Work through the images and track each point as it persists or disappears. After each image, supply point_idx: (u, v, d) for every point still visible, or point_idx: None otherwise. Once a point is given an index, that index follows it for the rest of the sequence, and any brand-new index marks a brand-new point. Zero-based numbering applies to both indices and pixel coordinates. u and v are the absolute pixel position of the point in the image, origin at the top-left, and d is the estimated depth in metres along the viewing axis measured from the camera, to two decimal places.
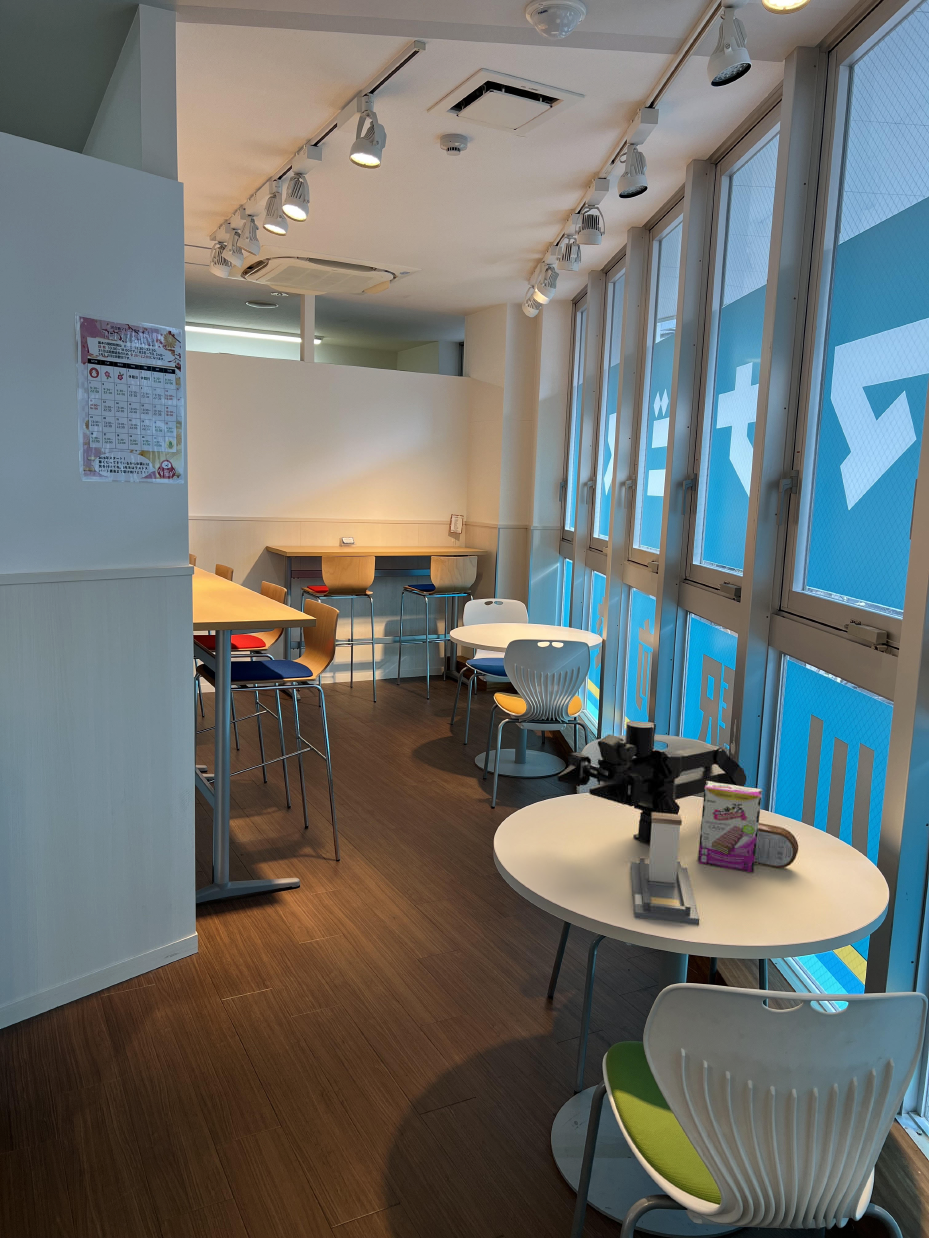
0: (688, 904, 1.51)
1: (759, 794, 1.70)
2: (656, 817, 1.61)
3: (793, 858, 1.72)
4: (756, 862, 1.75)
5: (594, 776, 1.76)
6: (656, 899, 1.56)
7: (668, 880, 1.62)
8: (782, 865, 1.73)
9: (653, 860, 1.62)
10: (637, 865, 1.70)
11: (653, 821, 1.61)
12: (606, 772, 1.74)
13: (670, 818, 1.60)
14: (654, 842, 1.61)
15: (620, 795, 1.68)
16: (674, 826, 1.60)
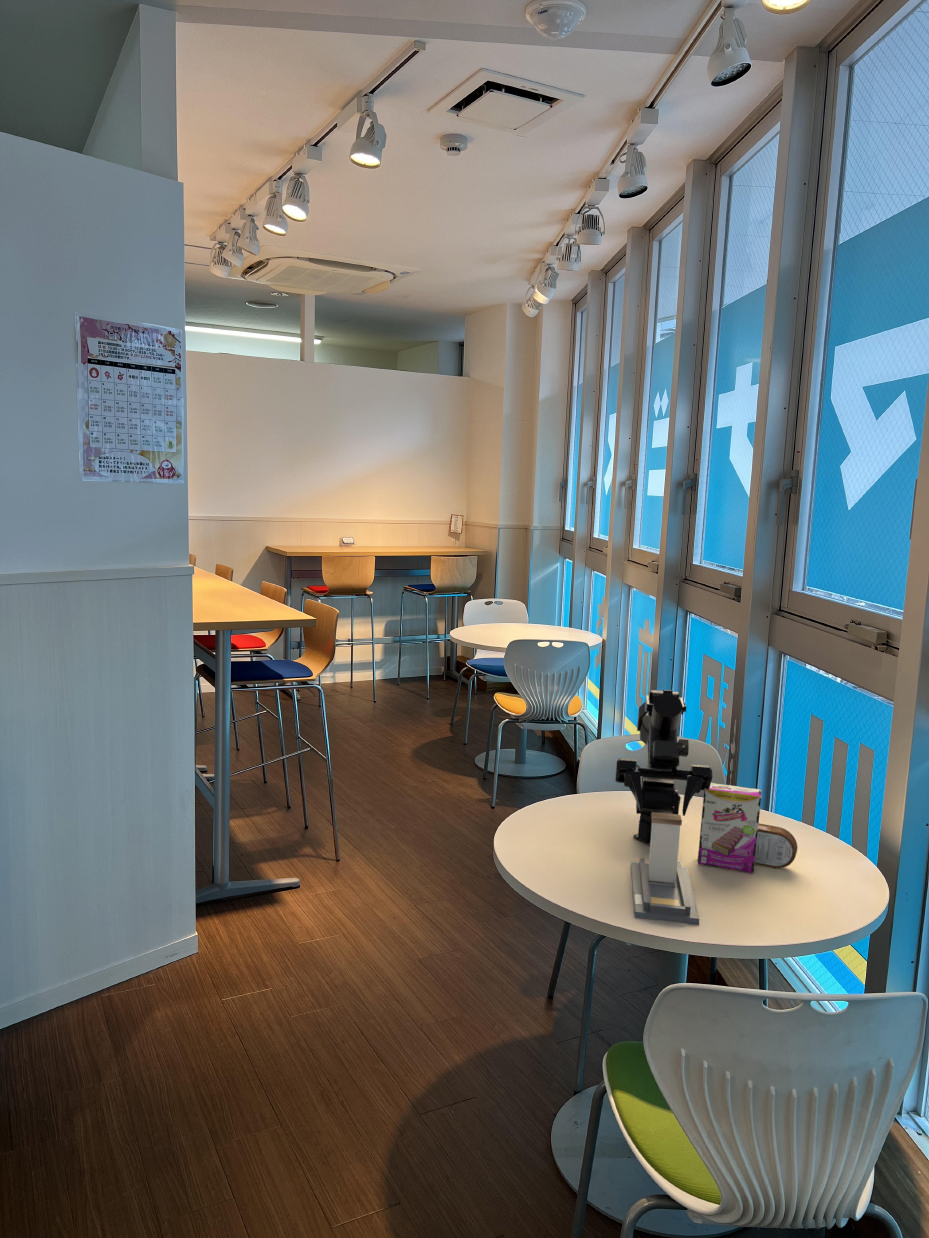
0: (688, 904, 1.51)
1: (759, 794, 1.70)
2: (656, 817, 1.61)
3: (792, 858, 1.72)
4: (755, 862, 1.75)
5: (652, 776, 1.72)
6: (656, 899, 1.56)
7: (668, 880, 1.62)
8: (781, 865, 1.73)
9: (653, 860, 1.62)
10: (637, 865, 1.70)
11: (653, 821, 1.61)
12: (666, 771, 1.71)
13: (670, 818, 1.60)
14: (654, 842, 1.61)
15: (693, 789, 1.71)
16: (674, 826, 1.60)
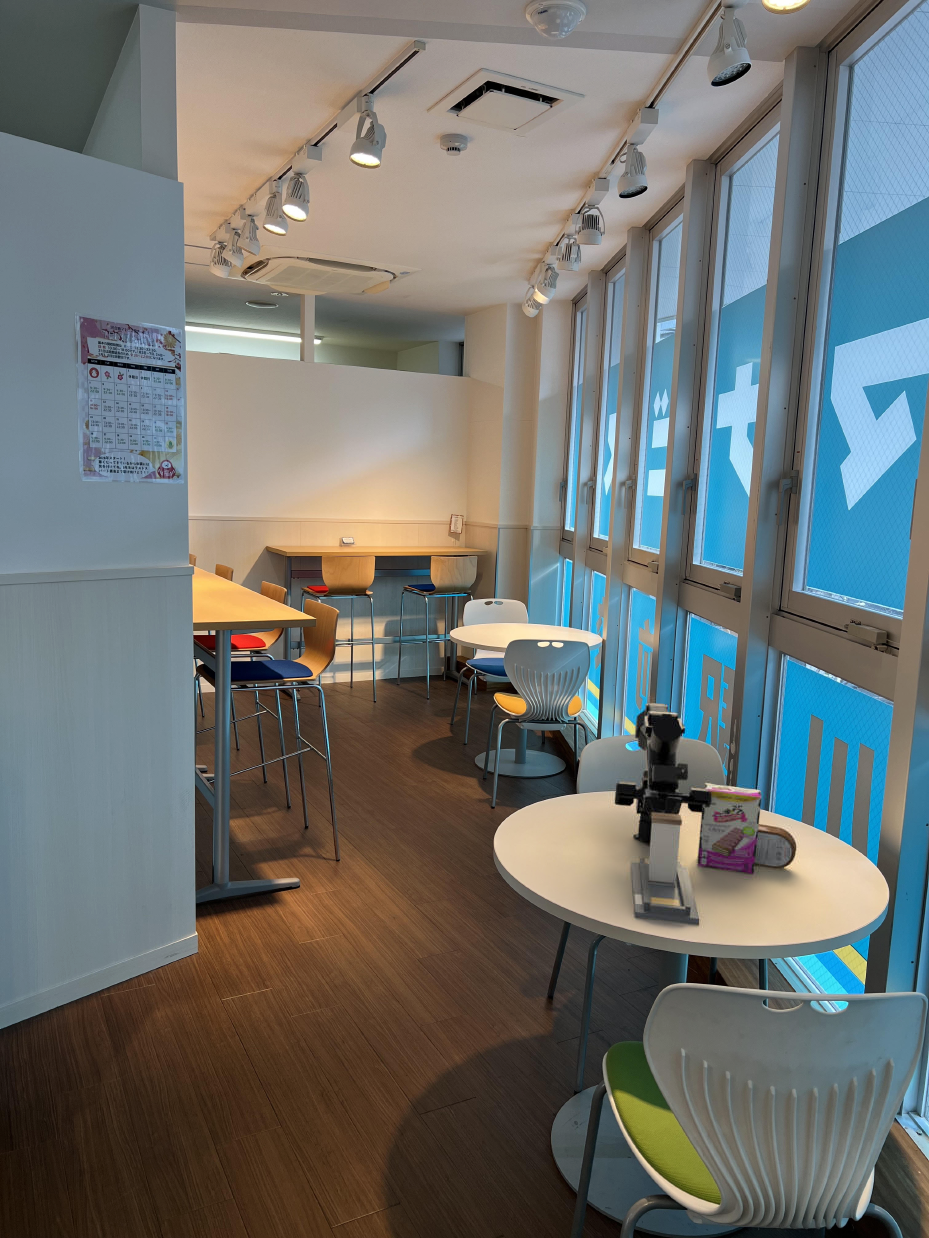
0: (688, 904, 1.51)
1: (759, 795, 1.69)
2: (656, 817, 1.61)
3: (792, 858, 1.72)
4: (755, 863, 1.75)
5: None
6: (656, 899, 1.56)
7: (668, 880, 1.62)
8: (781, 865, 1.73)
9: (653, 860, 1.62)
10: (637, 865, 1.70)
11: (653, 821, 1.61)
12: (666, 794, 1.72)
13: (670, 818, 1.60)
14: (654, 842, 1.61)
15: None
16: (674, 826, 1.60)
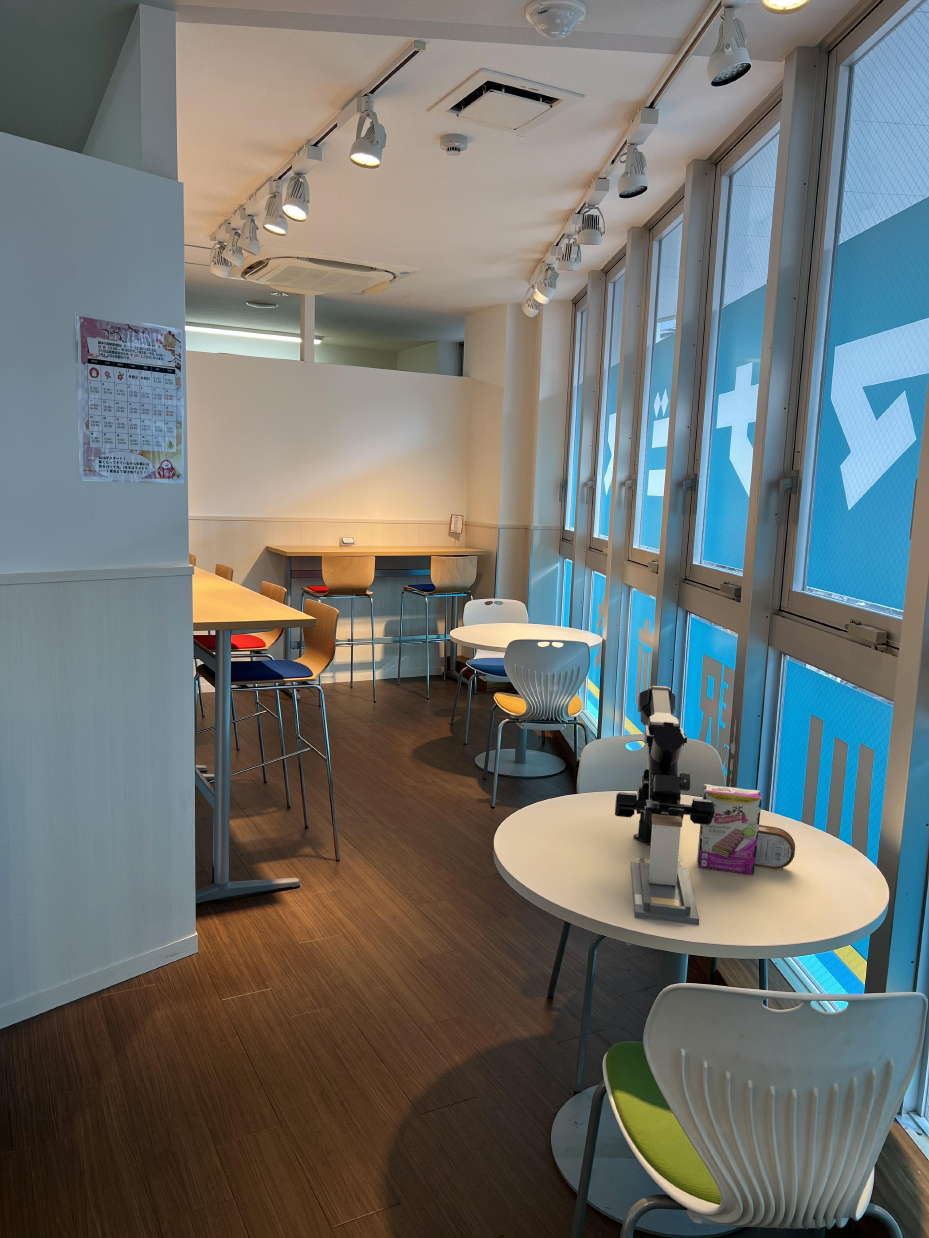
0: (688, 904, 1.51)
1: (759, 796, 1.69)
2: (656, 819, 1.60)
3: (791, 858, 1.72)
4: None
5: None
6: (656, 899, 1.56)
7: (668, 882, 1.61)
8: (780, 866, 1.73)
9: (654, 862, 1.61)
10: (637, 865, 1.70)
11: (653, 823, 1.60)
12: (667, 805, 1.67)
13: (670, 820, 1.60)
14: (654, 844, 1.60)
15: None
16: (674, 828, 1.59)
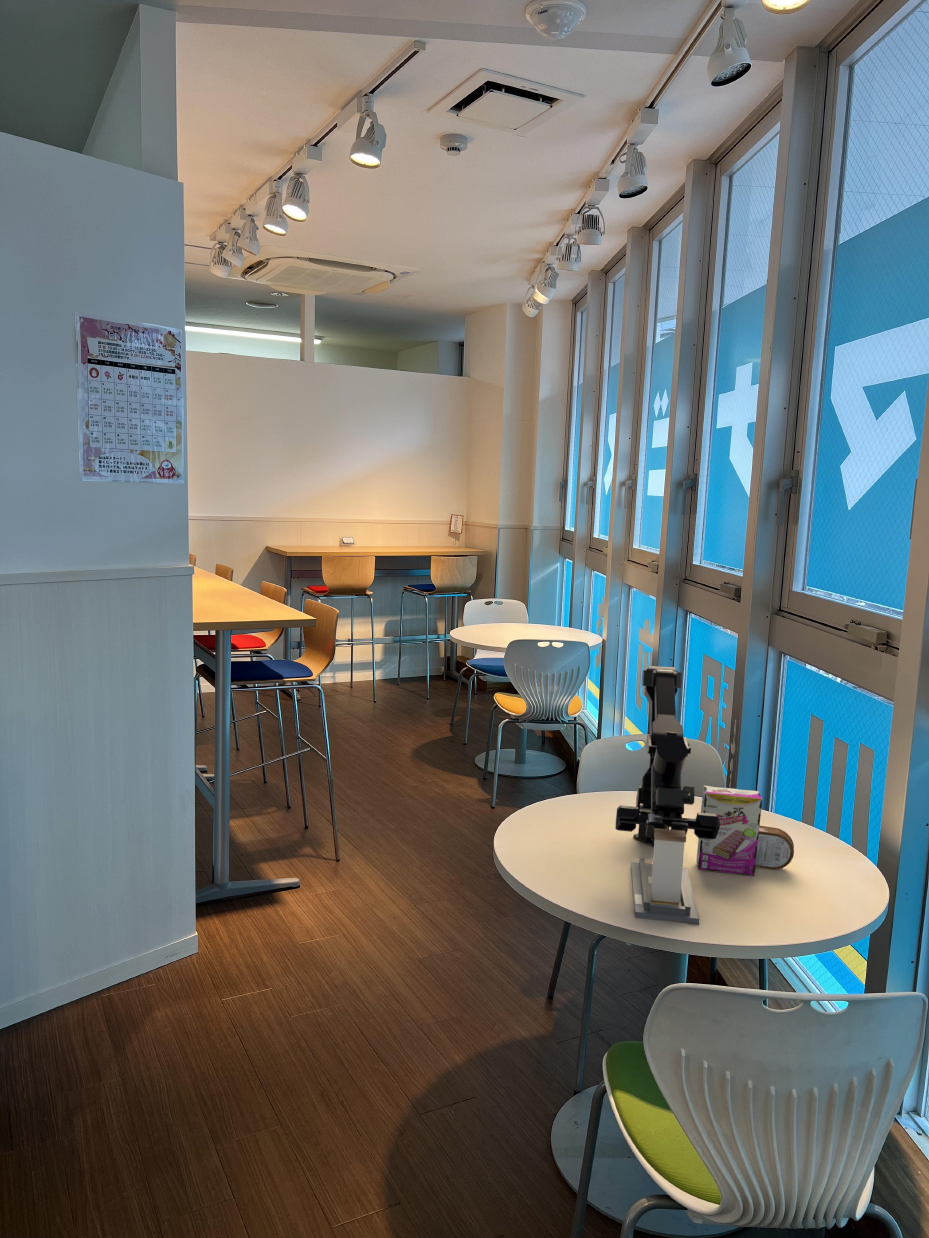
0: (688, 904, 1.51)
1: (759, 797, 1.68)
2: (659, 834, 1.52)
3: (790, 858, 1.72)
4: None
5: None
6: None
7: (672, 900, 1.53)
8: (779, 866, 1.73)
9: (656, 878, 1.53)
10: (637, 865, 1.70)
11: (656, 838, 1.52)
12: (670, 819, 1.60)
13: (674, 835, 1.52)
14: (657, 860, 1.53)
15: None
16: (678, 843, 1.52)
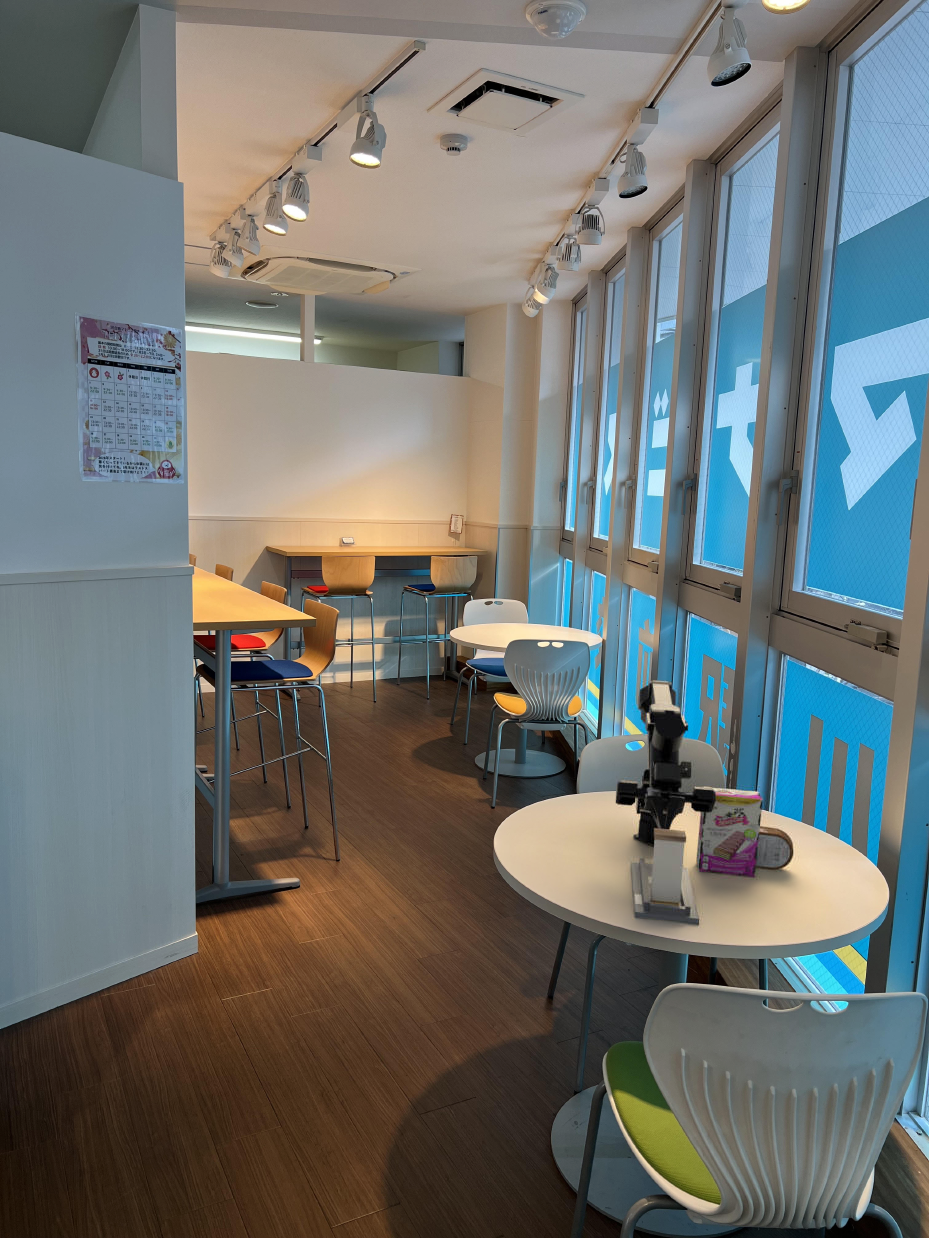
0: (688, 904, 1.51)
1: (760, 797, 1.68)
2: (659, 834, 1.52)
3: (790, 859, 1.72)
4: None
5: None
6: None
7: (672, 900, 1.53)
8: (779, 866, 1.73)
9: (656, 878, 1.53)
10: (637, 865, 1.70)
11: (656, 838, 1.52)
12: (668, 793, 1.66)
13: (674, 835, 1.52)
14: (657, 860, 1.53)
15: (676, 810, 1.67)
16: (678, 843, 1.52)
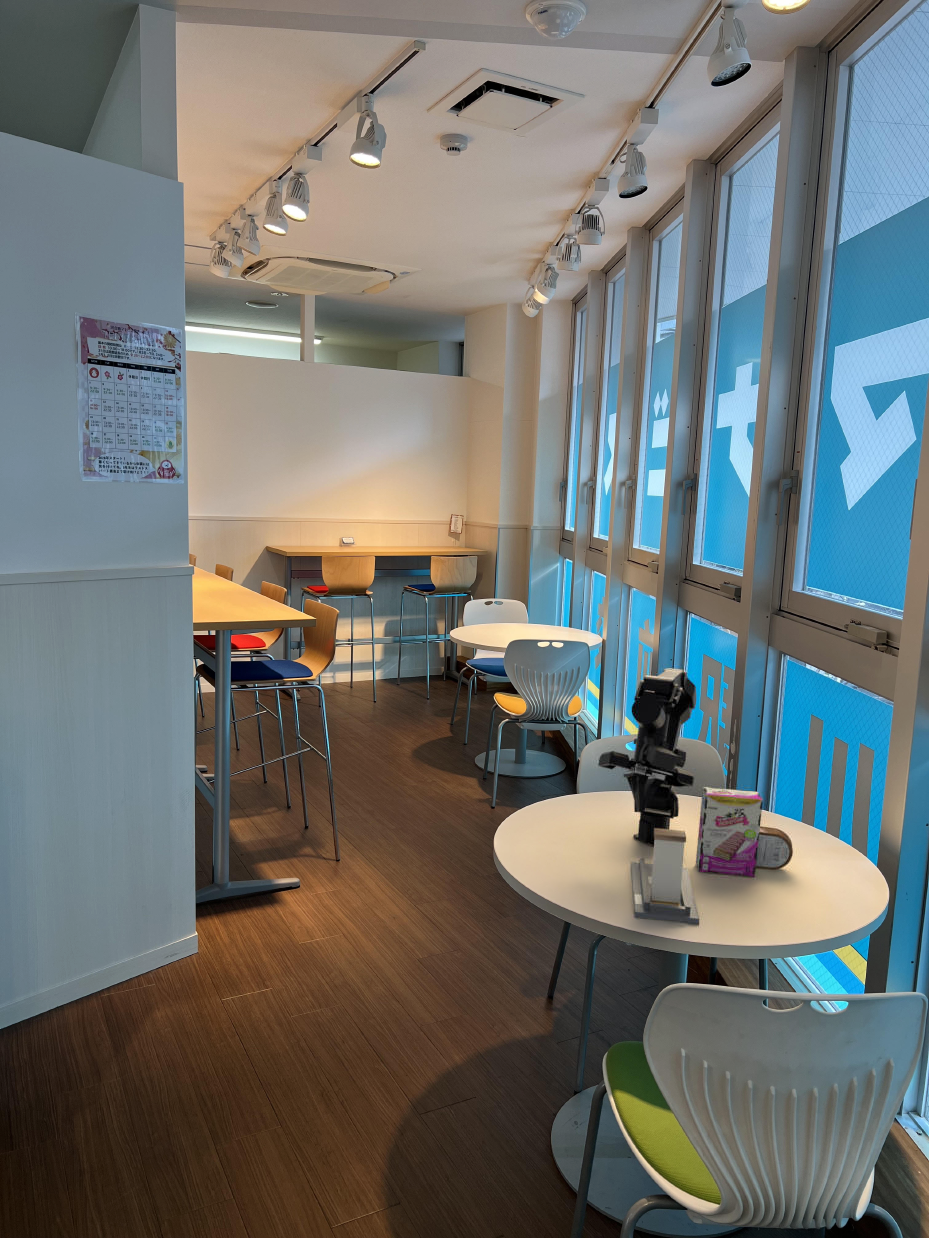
0: (688, 904, 1.51)
1: (760, 797, 1.68)
2: (659, 834, 1.52)
3: (789, 858, 1.72)
4: None
5: None
6: None
7: (672, 900, 1.53)
8: (778, 866, 1.73)
9: (656, 878, 1.53)
10: (637, 865, 1.70)
11: (656, 838, 1.52)
12: (652, 770, 1.71)
13: (674, 835, 1.52)
14: (657, 860, 1.53)
15: None
16: (678, 843, 1.52)
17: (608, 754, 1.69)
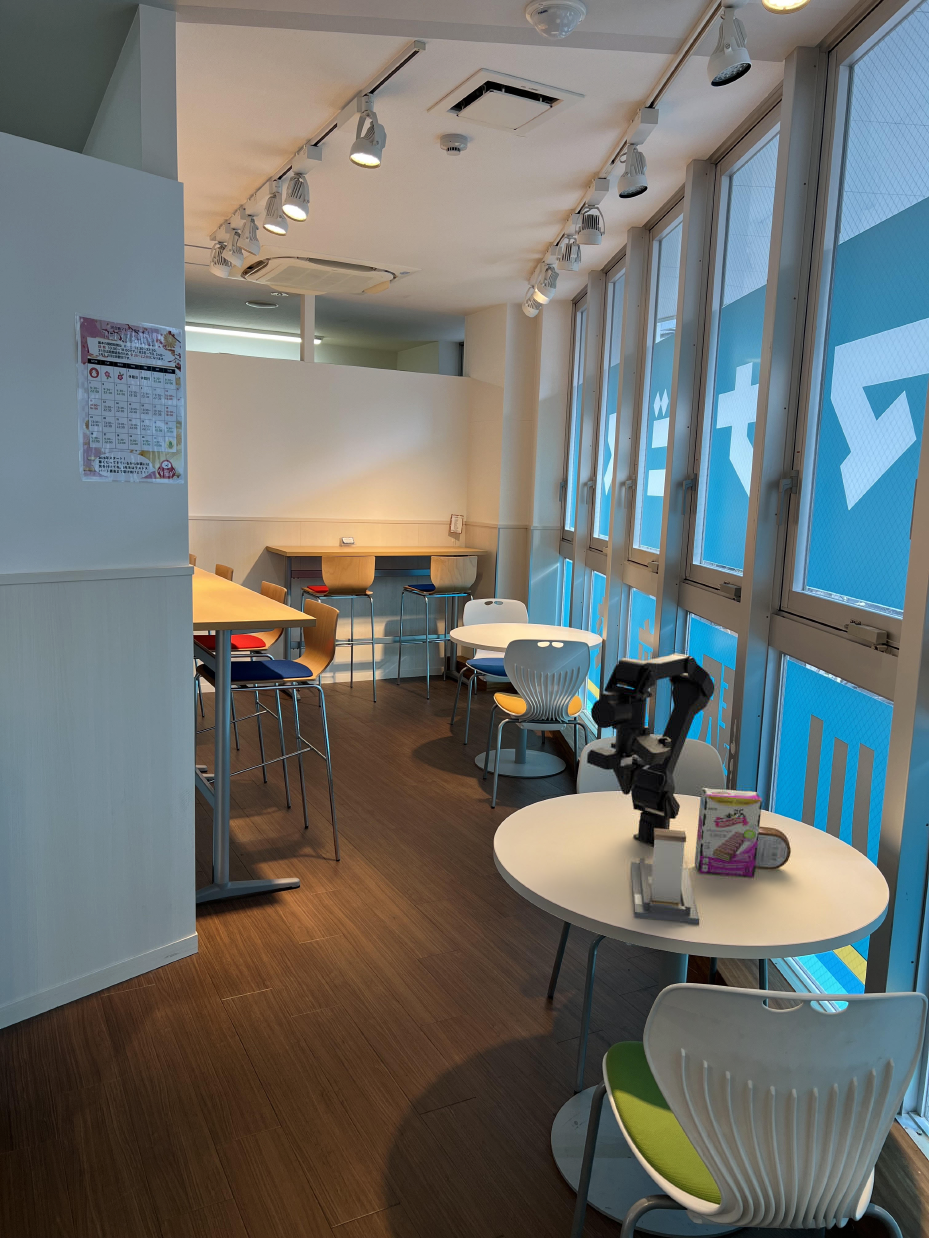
0: (688, 904, 1.51)
1: (759, 797, 1.68)
2: (659, 834, 1.52)
3: (787, 858, 1.72)
4: None
5: None
6: None
7: (672, 900, 1.53)
8: (776, 866, 1.73)
9: (656, 878, 1.53)
10: (637, 865, 1.70)
11: (656, 838, 1.52)
12: None
13: (674, 835, 1.52)
14: (657, 860, 1.53)
15: None
16: (678, 843, 1.52)
17: (602, 758, 1.69)
